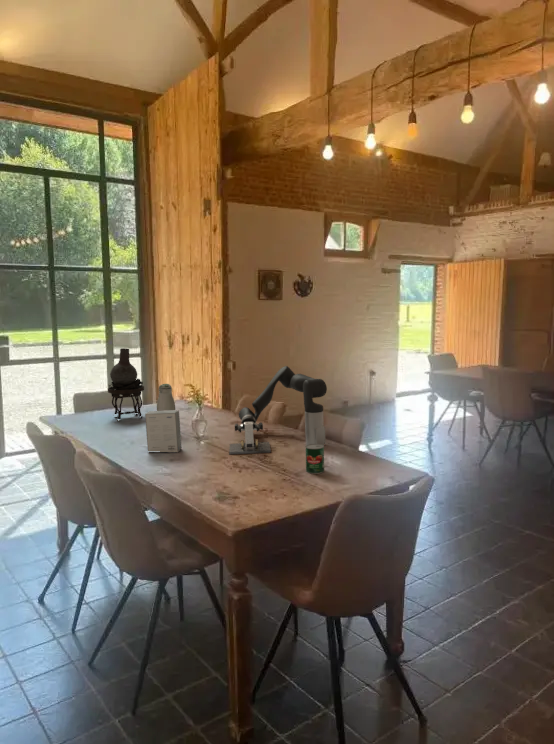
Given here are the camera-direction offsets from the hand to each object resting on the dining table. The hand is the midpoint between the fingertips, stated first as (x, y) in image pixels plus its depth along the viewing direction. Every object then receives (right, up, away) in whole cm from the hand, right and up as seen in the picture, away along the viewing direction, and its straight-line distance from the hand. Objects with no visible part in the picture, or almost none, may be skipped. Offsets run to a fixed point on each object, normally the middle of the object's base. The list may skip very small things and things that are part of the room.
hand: (249, 429), depth 284 cm
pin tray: (0, -10, 0) cm, 10 cm away
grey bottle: (-48, -6, +42) cm, 64 cm away
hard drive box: (-42, -11, +2) cm, 44 cm away
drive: (0, -8, 0) cm, 8 cm away
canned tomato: (+30, -14, -39) cm, 51 cm away
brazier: (-82, -1, +87) cm, 120 cm away
